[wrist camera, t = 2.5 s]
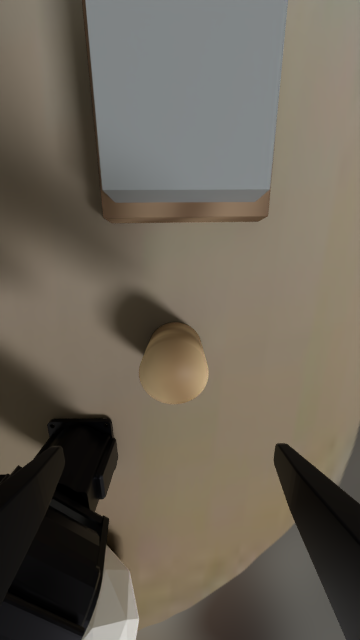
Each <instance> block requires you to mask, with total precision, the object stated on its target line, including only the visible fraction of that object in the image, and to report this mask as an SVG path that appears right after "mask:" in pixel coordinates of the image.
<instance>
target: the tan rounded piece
mask: <svg viewBox="0 0 360 640" xmlns="http://www.w3.org/2000/svg"><path fill="white" fill-rule="evenodd" d="M208 374H209V373H208V365H207V362H206V358H205V355H204V351H203V348H202V344H201V340H200V338H199V336H198V334H197V333H196V331H195V330H194V329H193V328H191V327H190V326H188V325H186V324H183V323H179V322H172V323H167V324H164V325H162V326H161V327H159V328H158V329H157V330H156V331H155V332H154V333H153V335H152V336H151V339H150V341H149V344H148V346H147V348H146V351H145V353H144V356H143V358H142V361H141V364H140V368H139V378H140V382H141V384H142V386H143V388H144V390H145V391H146V392H147V393H148V394H149V395H150V396H151V397H153V398H154V399H156V400H158V401H160V402H163V403H167V404H181V403H185V402H188V401H190V400H192V399H194V398H195V397H197V396H198V395H199V394H200V393H201V392H202V391H203V389H204V388H205V386H206V383H207V380H208Z"/></svg>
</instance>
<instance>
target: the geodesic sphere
mask: <svg viewBox="0 0 360 640" xmlns="http://www.w3.org/2000/svg"><path fill="white" fill-rule="evenodd" d="M138 622H139V616H138V611H137V606H136V601H135V595H134V590H133V585H132V580H131V575H130V570H129V569H128V568H127V567H126V566H125V565H124V563H123V562H122V561H121V560H120V559H119V558H118V557H117V556H116V555H115V554H114V552H113V551H112V550H111V549H110V548H109V547H108V546H107V545H106V551H105V560H104V569H103V578H102V584H101V589H100V593H99V597H98V600H97V603H96V607H95V610H94V612H93V615H92V617H91V620H90V623H89V625H88V627H87V629H86V631H85V634H84V636H83V637H82V640H136V634H137V628H138Z"/></svg>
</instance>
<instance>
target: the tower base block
mask: <svg viewBox="0 0 360 640" xmlns="http://www.w3.org/2000/svg"><path fill="white" fill-rule="evenodd" d="M82 5H83V16H84V26H85V36H86V46H87V57H88V67H89V77H90V87H91V98H92V108H93V118H94V128H95V139H96V149H97V159H98V169H99V179H100V190H101V200H102V210H103V218H104V219H106V220H107V221H109V222H111V223H169V222H257V221H260V220H262V219H264V218H265V217H267V216H268V211H269V200H270V190H269V191H267V192H266V193H265V194H264V195H263V196H261V197H260V198H259V199H258V200H257V201H256V202H145V203H115V202H114V201H113V200H112V199H111V198H110V197H109V196H108V195H107V194H106V193H105V192H104V191H103V190H102V179H101V168H100V157H99V146H98V134H97V123H96V112H95V101H94V90H93V79H92V68H91V57H90V46H89V35H88V24H87V12H86V1H85V0H82ZM278 100H279V99H278ZM277 111H278V110H277ZM276 122H277V120H276ZM275 133H276V131H275ZM274 144H275V141H274ZM273 155H274V152H273ZM272 166H273V162H272ZM271 177H272V173H271ZM270 189H271V183H270Z"/></svg>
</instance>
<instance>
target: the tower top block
mask: <svg viewBox="0 0 360 640" xmlns="http://www.w3.org/2000/svg"><path fill="white" fill-rule="evenodd" d="M85 1H86V12H87V24H88V35H89V46H90V57H91V68H92V79H93V90H94V101H95V112H96V123H97V134H98V146H99V157H100V168H101V179H102V190H103V191H104V192H105V193H106V194H107V195H108V196H109V197H110V198H111V199H112V200H113V201H114V202H115V203H145V202H256V201H257V200H258V199H259V198H260V197H261V196H263V195H264V194H265V193H266V192H267V191H269V190H270V183H271V173H272V162H273V152H274V141H275V131H276V120H277V110H278V99H279V89H280V79H281V68H282V58H283V47H284V37H285V26H286V16H287V5H288V0H85Z"/></svg>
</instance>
